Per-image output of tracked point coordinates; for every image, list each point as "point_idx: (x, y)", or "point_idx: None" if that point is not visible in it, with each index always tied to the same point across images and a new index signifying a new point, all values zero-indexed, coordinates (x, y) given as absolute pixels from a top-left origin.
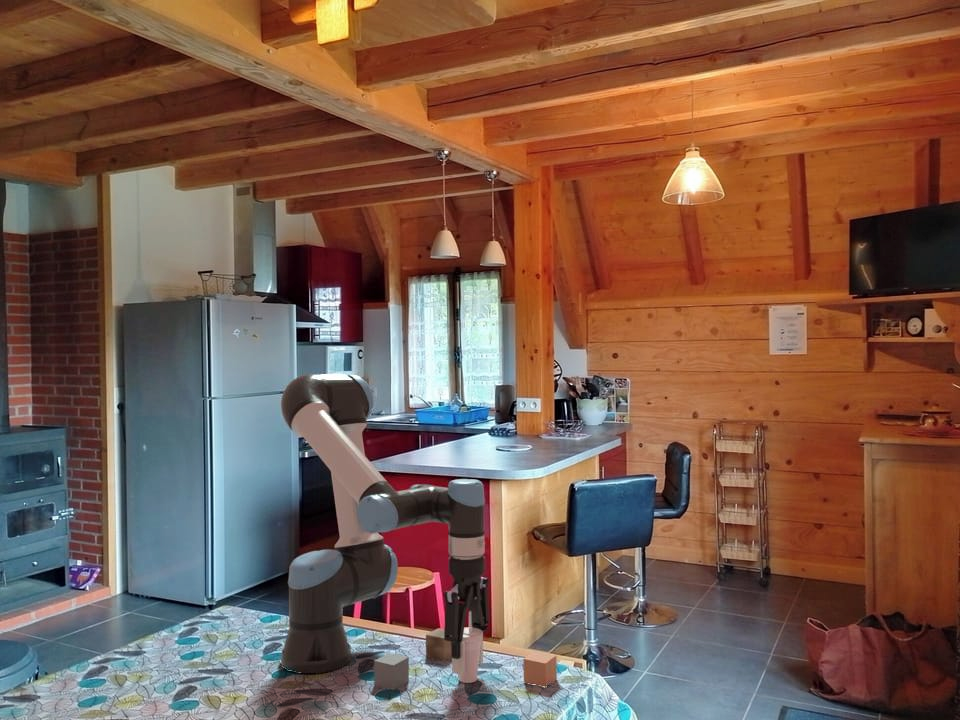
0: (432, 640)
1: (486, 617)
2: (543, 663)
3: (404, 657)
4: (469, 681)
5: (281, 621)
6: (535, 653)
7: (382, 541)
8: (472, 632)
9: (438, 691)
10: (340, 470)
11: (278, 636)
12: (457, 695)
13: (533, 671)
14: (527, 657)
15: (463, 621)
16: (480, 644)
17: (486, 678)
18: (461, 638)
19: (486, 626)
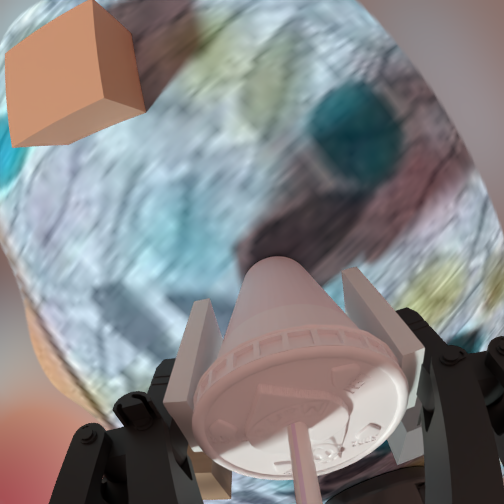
0: (224, 480)
1: (90, 464)
2: (93, 6)
3: (411, 435)
4: (298, 263)
5: None
6: (26, 119)
7: None
8: (299, 412)
9: (401, 288)
10: None
11: None
12: (394, 221)
13: (117, 60)
14: (78, 101)
15: (477, 463)
16: (253, 323)
17: (214, 249)
18: (451, 363)
19: (120, 416)
